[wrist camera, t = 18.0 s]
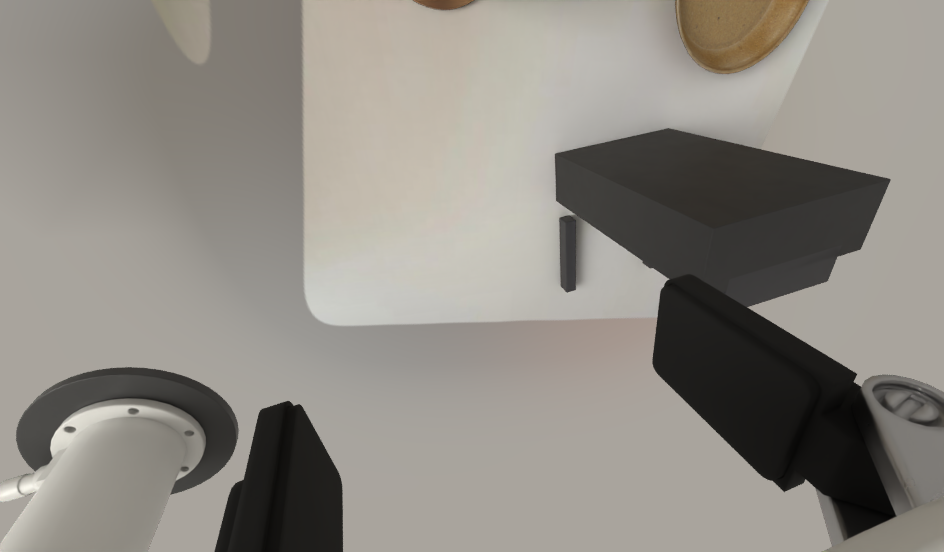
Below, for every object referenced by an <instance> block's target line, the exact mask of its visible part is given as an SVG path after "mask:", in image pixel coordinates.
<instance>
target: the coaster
mask: <svg viewBox="0 0 944 552" xmlns="http://www.w3.org/2000/svg"><path fill="white" fill-rule="evenodd" d="M413 1H415V2H416V3H418V4H420V5H423V6H425V7H428V8H432V9H438V10H450V9H455V8H459V7H462V6H464V5H467V4H469V3H470V2H472V1H474V0H413Z"/></svg>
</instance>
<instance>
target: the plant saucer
mask: <svg viewBox="0 0 944 552" xmlns="http://www.w3.org/2000/svg"><path fill="white" fill-rule="evenodd" d="M808 1H809V0H676V2H675V5H676V18H677V24H678V29H679V33H680V36H681V39H682V41H683V44H684V46H685V48H686V50H687V52H688V53H689V55H690V56H691V57H692V59H693V60H694V61H695V62H696V63H697V64H698V65H700V66H701V67H702V68H704V69H706V70H708V71H711V72H714V73H719V74H729V73H735V72H739V71H742V70H745V69H747V68H749V67H751V66H753V65H755V64H756V63H758V62H759V61H761V60H762V59H764V58H765V57H766V56H768V55H769V54H770V53H771V52H772V51H773V50H774V49H775V48H776V47H777V46H779V44H780V43H781V42H782V41H783V40H784V39H785V38H786V36H787V35H788V34H789V33H790V31H791V30H792V29H793V27H794V25H795V24H796V23H797V21H798V19H799V18H800V16H801V14H802V13H803V11H804V9H805V7H806V6H807V3H808Z"/></svg>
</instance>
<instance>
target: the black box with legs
mask: <svg viewBox="0 0 944 552" xmlns="http://www.w3.org/2000/svg"><path fill="white" fill-rule="evenodd" d="M555 168H556V201H557V202H559V203H560V204H562V205H563V206H564V207H566V208H567V209H569V210H570V211H572V212H573V213H575V214H576V215H577V216H579V217H580V218H582V219H583V220H585V221H586V222H588V223H589V224H590V225H592V226H593V227H595V228H596V229H598V230H599V231H601V232H602V233H603V234H605V235H606V236H608V237H609V238H611V239H612V240H614V241H615V242H616V243H618V244H619V245H621V246H622V247H624V248H625V249H627V250H628V251H629V252H631V253H632V254H634V255H635V256H637V257H638V258H640V259H641V260H643V264H645V265H646V266H648V267H649V268H654V269H656V270H657V271H658V272H660V273H661V274H663V275H664V276H666V277H667V278H669V279H673V278H676V277H679V276H682V275H686V274H692V275H694V276H696V277H697V278H699V279H701V280H702V281H704V282H706V283H707V284H709V285H711V286H712V287H714V288H716V289H717V290H719V291H721V292H722V293H724V294H726V295H727V296H729V297H731V298H732V299H734V300H736V301H737V302H739V303H740V304H742V305H744V306H745V307H749V306H752V305H755V304H758V303H761V302H765V301H768V300H771V299H774V298H777V297H780V296H783V295H786V294H789V293H793V292H795V291H798V290H802V289H804V288H808V287H811V286H814V285H817V284H821V283H824V282H827V281H828V279H829V276H830V274H831V271H832V269H833V266H834V264H835V261H836V259H837V257H838V256H841V255H844V254H847V253H850V252H854V251H857V250H860V249H861V247H862V245H863V242H864V240H865V238H866V236H867V233H868V231H869V229H870V226H871V224H872V222H873V220H874V217H875V215H876V212H877V210H878V208H879V206H880V203H881V201H882V199H883V196H884V194H885V192H886V189H887V187H888V184H889V182H890V179H887V178H883V177H879V176H874V175H870V174H866V173H861V172H856V171H852V170H848V169H843V168H839V167H835V166H830V165H826V164H821V163H818V162H813V161H809V160H804V159H799V158H795V157H791V156H787V155H782V154H778V153H773V152H769V151H765V150H761V149H756V148H752V147H748V146H743V145H739V144H734V143H730V142H726V141H721V140H717V139H713V138H708V137H704V136H699V135H695V134H691V133H686V132H682V131H678V130H673V129H669V128H668V129H664V130H659V131H655V132H650V133H646V134H641V135H637V136H633V137H628V138H624V139H619V140H615V141H610V142H606V143H601V144H597V145H592V146H588V147H583V148H579V149H574V150H570V151H565V152H561V153H556V154H555ZM559 222H560V266H561V287H562V288H563V289H564V290H565V291H566V292H570V291H574V290H576V220H575V219H573V218H572V217H571V216H565V217H561V218H559Z"/></svg>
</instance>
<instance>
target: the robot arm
mask: <svg viewBox="0 0 944 552" xmlns="http://www.w3.org/2000/svg"><path fill="white" fill-rule="evenodd" d="M653 367H654V369H655V371H656V372H657V374H658V375H659V376H660V377H661V378H662V379H663V380H664V381H665V382H666V383H667V384H668V385H669V386H670V387H671V388H672V389H674V390H675V392H676V393H678V394H679V395H680V396H681V397H682V398H683V399H684V400H685V401H686V402H687V403H688V404H689V405H690V406H691V407H692V408H693V409H694V410H695V411H696V412H697V413H698V414H699V415H700V416H701V417H702V418H703V419H704V420H705V421H706V422H707V423H708V424H709V425H710V426H711V427H712V428H713V429H714V430H715V431H716V432H717V433H718V434H720V436H721V437H722V438H724V440H725V441H727V443H728V444H730V445H731V447H733V448H734V449H735V450H736V451H737V452H738V453H739V454H740V455H741V456H742V457H743V458H744V459H745V460H746V461H747V462H748V463H749V464H750V465H751V466H752V467H753V468H754V469H755V470H756V471H757V472H758V473H759V474H760V475H761V476H763V477H764V478H766V479H768V480H772V481H773V482H775V483H776V484H777V485H778V486H779V487H780V488H781V489H782V490H783V491H784V492H785V491H787V490H789V489H791V488H794V487H796V486H798V485H800V484H802V483H804V481H805V479H806V480H807V481H809V482H810V483H811V484H812V485H813V486H814V487H815V488H816V491H817V495H818V498H819V502H820V505H821V509H822V513H823V516H824V519H825V523H826V527H827V530H828V534H829V537H830V541H831V544H832V547H831V548H829V549H827V550H825V551H823V552H944V392H942V391H940V390H938V389H936V388H934V387H932V386H930V385H928V384H925V383H923V382H920V381H917V380H914V379H910V378H906V377H901V376H896V375H878V376H872V377H870V378H868V379H867V380H865V381H864V383H863V385H862V387H861V386H859V385H857V384H856V383H854V380H855V378H856V375H857V374H856V373H855V372H853V371H851V370H850V369H848V368H847V367H845V366H843V365H842V364H840V363H838V362H836V361H835V360H833V359H832V358H830V357H828V356H827V355H825V354H823V353H822V352H820V351H818V350H817V349H815V348H813V347H811V346H810V345H808V344H807V343H805V342H803V341H802V340H800V339H798V338H797V337H795V336H793V335H792V334H790V333H789V332H787V331H785V330H784V329H782V328H780V327H778V326H777V325H775V324H774V323H772V322H770V321H769V320H767V319H765V318H764V317H762V316H760V315H759V314H757V313H755V312H754V311H752V310H750V309H749V308H747V307H745V306H744V305H742V304H740V303H739V302H737V301H736V300H734V299H732V298H731V297H729V296H727V295H726V294H724V293H722V292H721V291H719V290H717V289H716V288H714V287H712V286H711V285H709V284H707V283H706V282H704V281H702V280H701V279H699V278H697V277H696V276H694V275H692V274H686V275H682V276H679V277H676V278H673V279H670V280H668V281H666V283H665V285H664V287H663V288H662V289H661V293H660V301H659V310H658V318H657V327H656V335H655V344H654V353H653ZM205 446H206V436H205V433H204V430H203V428H202V427H201V426H200V424H199V423H198V422H197V421H196V420H195V419H194V418H193V417H192V416H191V415H189V414H188V413H186V412H184V411H183V410H181V409H179V408H177V407H174V406H172V405H170V404H166V403H162V402H159V401H154V400H147V399H133V398H124V399H113V400H107V401H102V402H98V403H95V404H92V405H89V406H86V407H84V408H82V409H80V410H78V411H76V412H74V413H73V414H71V415H70V416H69V417H68V418H67V419H66V420H64V421H63V423H62V424H61V425H60V427H59V428H58V429H57V430H56V432H55V434H54V436H53V438H52V440H51V447H50V450H51V454H52V458H53V459H52V460H51V461H50V463H49V464H48V465H45V466H42V467H40V468H39V469H38V470H37V471H36V472H35V473H33V474H25V475H21V476H18V477H15V478H12V479H8V480H5V481H3V482H2V483H0V501H2V502H7V501H10V500H13V499H17V498H20V497H23V496H26V495H29V494H31V493H33V492H36V491H37V492H36V493H35V495H34V496H33V498H32V499H31V500H30V502H29V503H28V505H27V506H26V508H25V509H24V510H23V512H22V513H21V515H20V516H19V518H18V519H17V520H16V522H15V523H14V525H13V526H12V527H11V529H10V530H9V532H8V533H7V535H6V536H5V538H4V539H3V540H2V542H1V543H0V552H148V549H149V547H150V544H151V542H152V539H153V537H154V534H155V532H156V529H157V527H158V524H159V522H160V519H161V517H162V514H163V512H164V509H165V506H166V504H167V501H168V499H169V496H170V494H171V491H172V489H173V486H174V484H175V481H176V480H178V479H180V478H182V477H184V476H185V475H187V474H188V473H189V472H191V471H192V470H193V469H194V468H195V467H196V466H197V464H198V463H199V462H200V460H201V458H202V456H203V453H204V450H205ZM342 508H343V506H342V482H341V478H340V475H339V473H338V471H337V469H336V467H335V465H334V463H333V462H332V460H331V458H330V456H329V454H328V453H327V451H326V449H325V447H324V445H323V443H322V442H321V440H320V438H319V436H318V434H317V432H316V431H315V429H314V427H313V425H312V424H311V422H310V420H309V418H308V416H307V414H306V413H305V411H304V409H303V407H302V406H301V405H300V404H298V405H295V406H293V404H292V403H291V402H290V401H286V402H283V403H280V404H277V405H273V406H270V407H267V408H264V409H262V410H261V411H260V412H259V415H258V419H257V424H256V429H255V433H254V437H253V442H252V446H251V451H250V455H249V459H248V463H247V468H246V472H245V477H244V480H242V481H239V482H237V483H236V484H235V485H234V486H233V487H232V489H231V492H230V494H229V497H228V501H227V505H226V509H225V513H224V517H223V521H222V525H221V529H220V533H219V537H218V540H217V544H216V548H215V552H343V509H342Z"/></svg>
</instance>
